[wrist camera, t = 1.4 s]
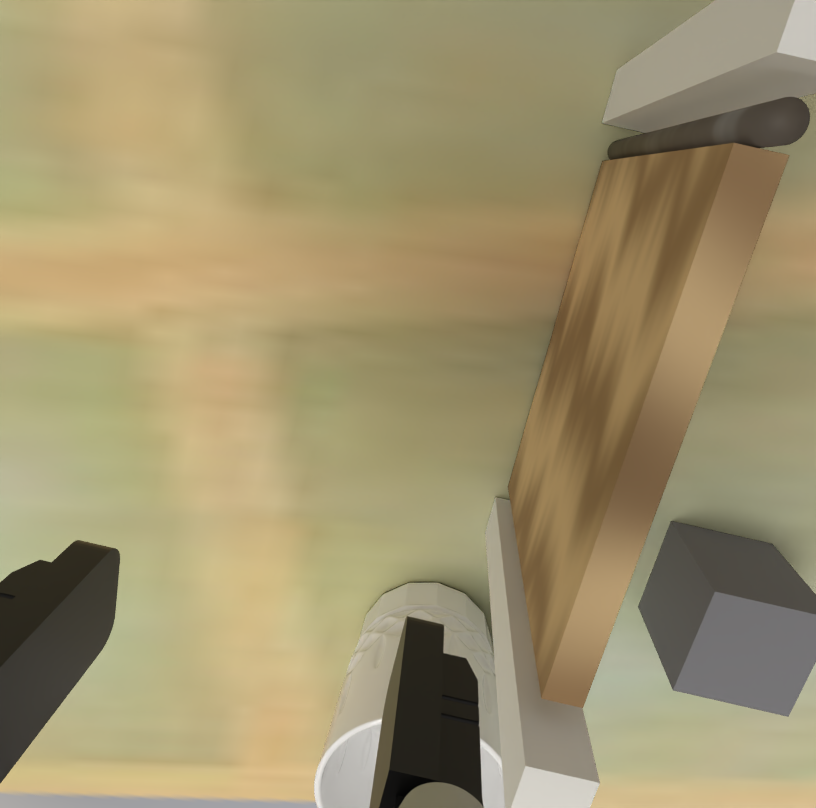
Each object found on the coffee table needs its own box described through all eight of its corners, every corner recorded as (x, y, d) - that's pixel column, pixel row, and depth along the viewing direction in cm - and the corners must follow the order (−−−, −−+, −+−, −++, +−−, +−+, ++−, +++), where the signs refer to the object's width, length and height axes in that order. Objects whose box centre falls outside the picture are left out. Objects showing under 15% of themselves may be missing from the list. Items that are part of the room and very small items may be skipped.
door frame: (617, 69, 27) (821, -76, 12) (666, 80, 27) (934, -49, 12) (485, 532, 34) (506, 821, 18) (524, 541, 34) (577, 837, 18)
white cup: (532, 644, 36) (558, 813, 26) (420, 719, 38) (406, 901, 28) (432, 542, 34) (422, 681, 25) (321, 626, 36) (272, 784, 27)
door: (607, 136, 28) (764, 90, 13) (667, 150, 28) (888, 118, 13) (507, 484, 33) (544, 717, 18) (558, 495, 33) (633, 737, 18)
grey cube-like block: (670, 520, 33) (714, 591, 27) (771, 543, 33) (836, 619, 27) (637, 606, 34) (673, 690, 29) (734, 628, 34) (788, 716, 29)
